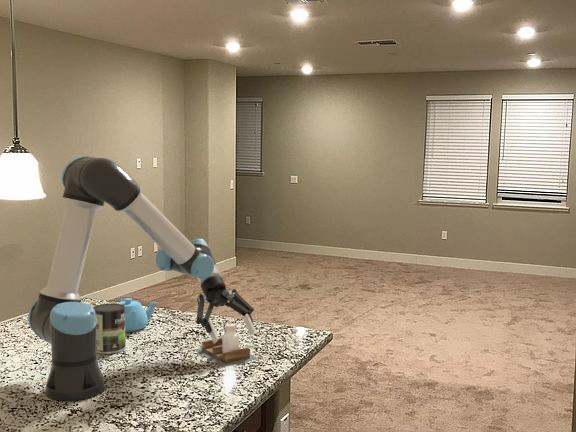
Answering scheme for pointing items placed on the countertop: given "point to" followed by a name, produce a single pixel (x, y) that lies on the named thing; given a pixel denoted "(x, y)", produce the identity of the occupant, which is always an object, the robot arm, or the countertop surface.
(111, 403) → the countertop surface
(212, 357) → the mat
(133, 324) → the teapot
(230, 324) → the salt shaker
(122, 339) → the coffee can
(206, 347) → the rack
